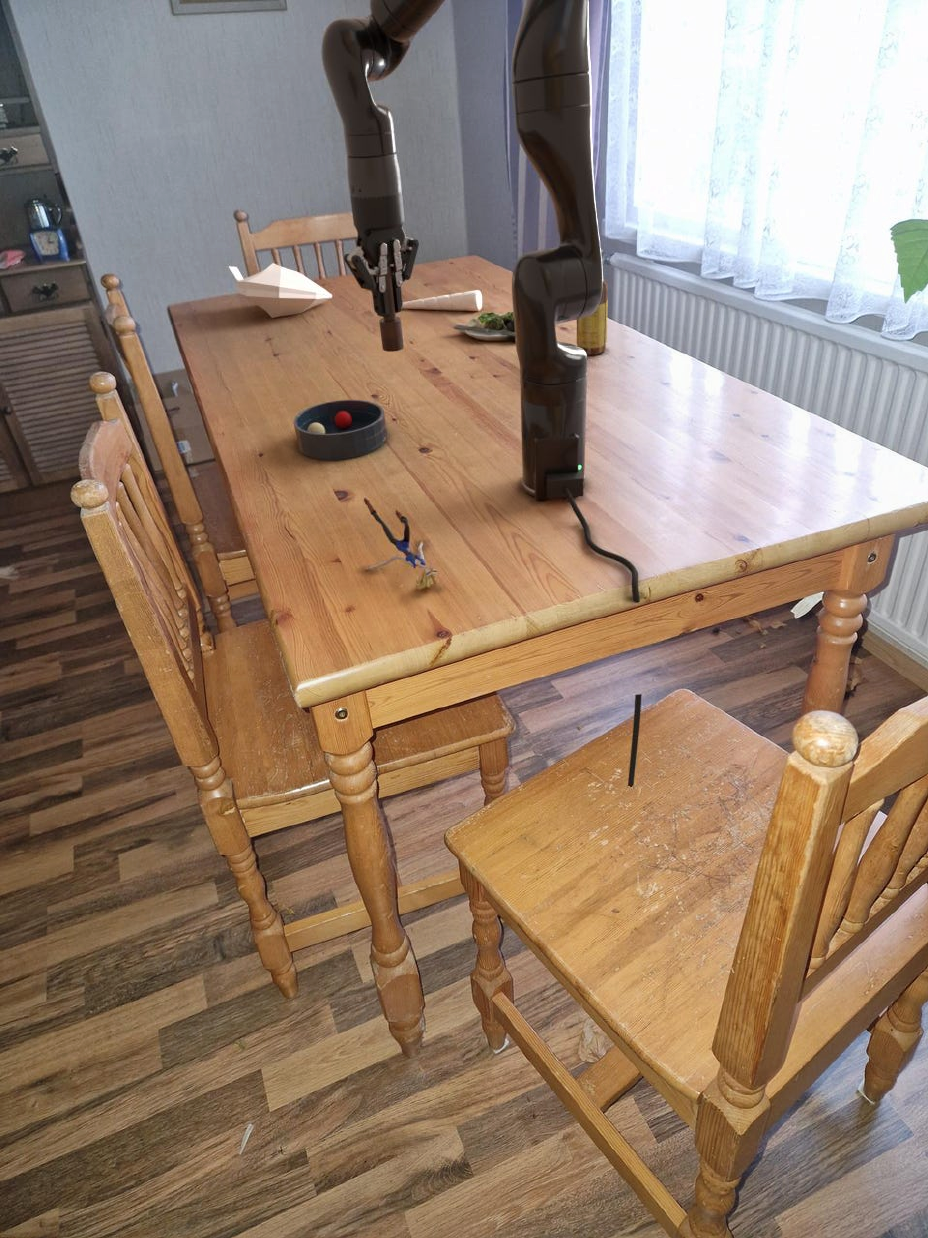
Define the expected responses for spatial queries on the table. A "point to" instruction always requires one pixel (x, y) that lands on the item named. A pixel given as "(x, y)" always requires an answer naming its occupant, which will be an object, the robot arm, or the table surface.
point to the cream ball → (316, 428)
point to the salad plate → (490, 327)
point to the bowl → (341, 430)
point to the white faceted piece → (280, 290)
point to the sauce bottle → (594, 327)
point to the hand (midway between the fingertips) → (389, 313)
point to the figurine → (405, 550)
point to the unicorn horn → (449, 302)
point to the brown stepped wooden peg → (391, 320)
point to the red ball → (343, 420)
